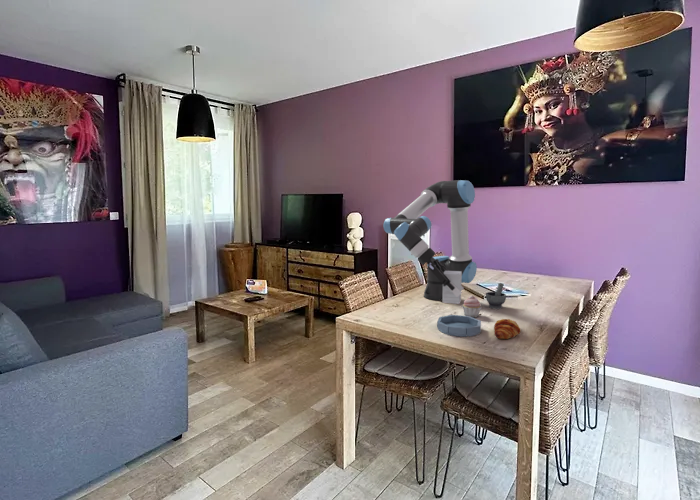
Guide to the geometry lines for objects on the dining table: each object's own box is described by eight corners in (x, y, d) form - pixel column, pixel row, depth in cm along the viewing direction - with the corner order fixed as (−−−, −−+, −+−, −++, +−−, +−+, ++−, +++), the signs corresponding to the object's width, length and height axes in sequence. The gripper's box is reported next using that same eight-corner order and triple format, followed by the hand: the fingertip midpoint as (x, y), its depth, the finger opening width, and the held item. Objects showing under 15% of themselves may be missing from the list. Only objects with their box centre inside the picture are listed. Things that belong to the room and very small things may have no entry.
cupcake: (472, 319, 183) (473, 298, 182) (457, 314, 191) (457, 294, 190) (486, 316, 188) (486, 295, 187) (470, 311, 196) (471, 291, 195)
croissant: (507, 333, 175) (499, 316, 176) (529, 327, 169) (521, 309, 170) (491, 347, 158) (482, 328, 160) (515, 340, 152) (505, 321, 154)
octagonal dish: (440, 320, 182) (440, 313, 182) (481, 324, 176) (481, 317, 175) (434, 333, 165) (434, 325, 165) (480, 338, 159) (480, 330, 159)
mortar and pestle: (499, 311, 197) (500, 287, 195) (481, 307, 203) (482, 284, 202) (509, 306, 204) (511, 283, 202) (492, 303, 211) (493, 281, 209)
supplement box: (461, 299, 172) (462, 271, 170) (459, 304, 165) (460, 274, 163) (444, 298, 174) (444, 270, 172) (441, 302, 167) (442, 273, 166)
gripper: (421, 255, 182) (456, 292, 178) (411, 262, 163) (450, 304, 160) (433, 244, 179) (469, 281, 176) (424, 250, 161) (465, 292, 157)
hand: (460, 292), depth 168 cm, fingers closed on supplement box, 7 cm apart
